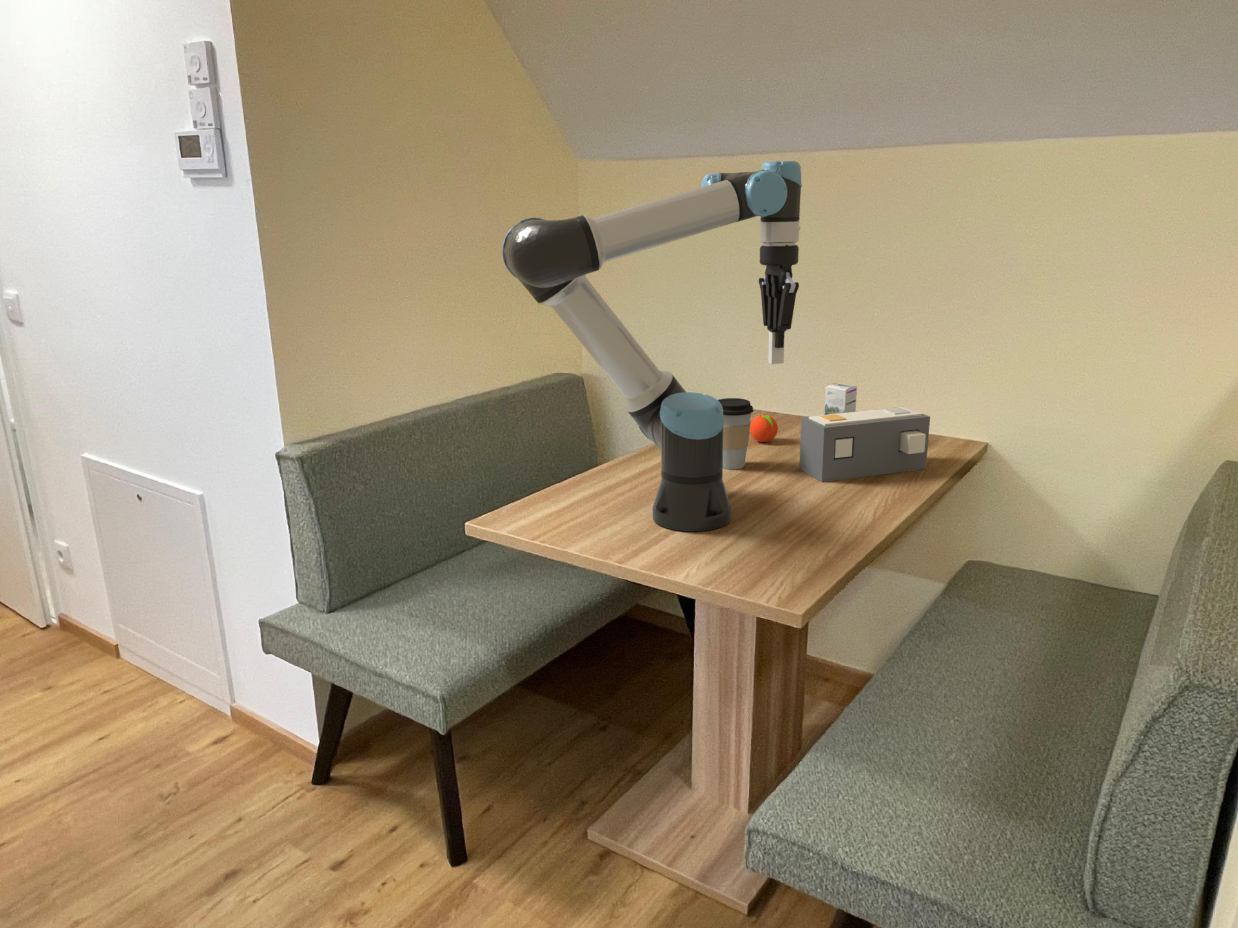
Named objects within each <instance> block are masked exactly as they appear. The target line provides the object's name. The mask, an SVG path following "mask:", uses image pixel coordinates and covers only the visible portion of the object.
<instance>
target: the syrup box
mask: <svg viewBox="0 0 1238 928" xmlns="http://www.w3.org/2000/svg"><path fill="white" fill-rule="evenodd" d="M857 392H858V386H857V385H853V384H847V383H846V384H845V383H838V382H836V383H831V384H828V385H827V386H825V391H824V393H825V395H824V396H825V397H824V414H823V415H828V414H838V413H847V412H857V410H856V409H857V407H856V406H857V395H858V393H857Z"/></svg>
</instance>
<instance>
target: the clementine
mask: <svg viewBox="0 0 1238 928" xmlns="http://www.w3.org/2000/svg"><path fill="white" fill-rule="evenodd" d="M750 422H751V424H750V432H749V434H750V435H751V436H752V438H753V439H754V440H755V441H757V442H760V443H768V442H771V441H772V440H774V439H775V438H776V435H777V434H778V429H779V427H778V423H777V421H776V419H775V418H774V417H772V416H771V415H768V414H764V413H763V414H759V415H757V416H755V417H754V418H753V419H752V420H751V421H750Z"/></svg>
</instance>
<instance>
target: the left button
mask: <svg viewBox="0 0 1238 928" xmlns="http://www.w3.org/2000/svg"><path fill="white" fill-rule="evenodd" d="M852 441H853V438H851V437H844V438H835V442H834V458H841V457H849V456H852Z"/></svg>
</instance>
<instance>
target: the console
mask: <svg viewBox="0 0 1238 928" xmlns="http://www.w3.org/2000/svg"><path fill="white" fill-rule="evenodd" d="M930 422H931V416H930V415H927V414H924V413H922V412H919V411H915V410H913V409H910V408H907V407H905V406H898V407H897V406H896V407H890V408H889V407H887V408H878V409H868V410H860V411H857V410H856V411H855V412H847V413H838V414H828V415H824V414H821V415H820V414H819V415H810V416H809V415H808V416H802V417H801V418H800V440H799V441H800V442H799V443H800V444H799V445H800V446H799V468H798V469H799V470H800V471H802V472H804V473H805V474H807V475H809V476H811V477H813V478H814V479H816V480H817V481H819V482H821V483H824V482H832V481H839V480H848V479H855V478H864V477H871V476H872V477H873V476H880V475H887V474H889V475H890V474H895V473H896V474H897V473H902V472H903V473H904V472H905V473H906V472H911V471H918V470H926V469H927V458H928V447H929V436H930ZM907 430H916V431H918V432H921V433H923V434H926V438H925V450H924V452H922V453H914V454H907V453H905V452H902V451H900V450H899V439H900V431H907ZM844 437H851V438H853V441H852V456H849V457H841V458H834V442H835V438H844Z"/></svg>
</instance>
